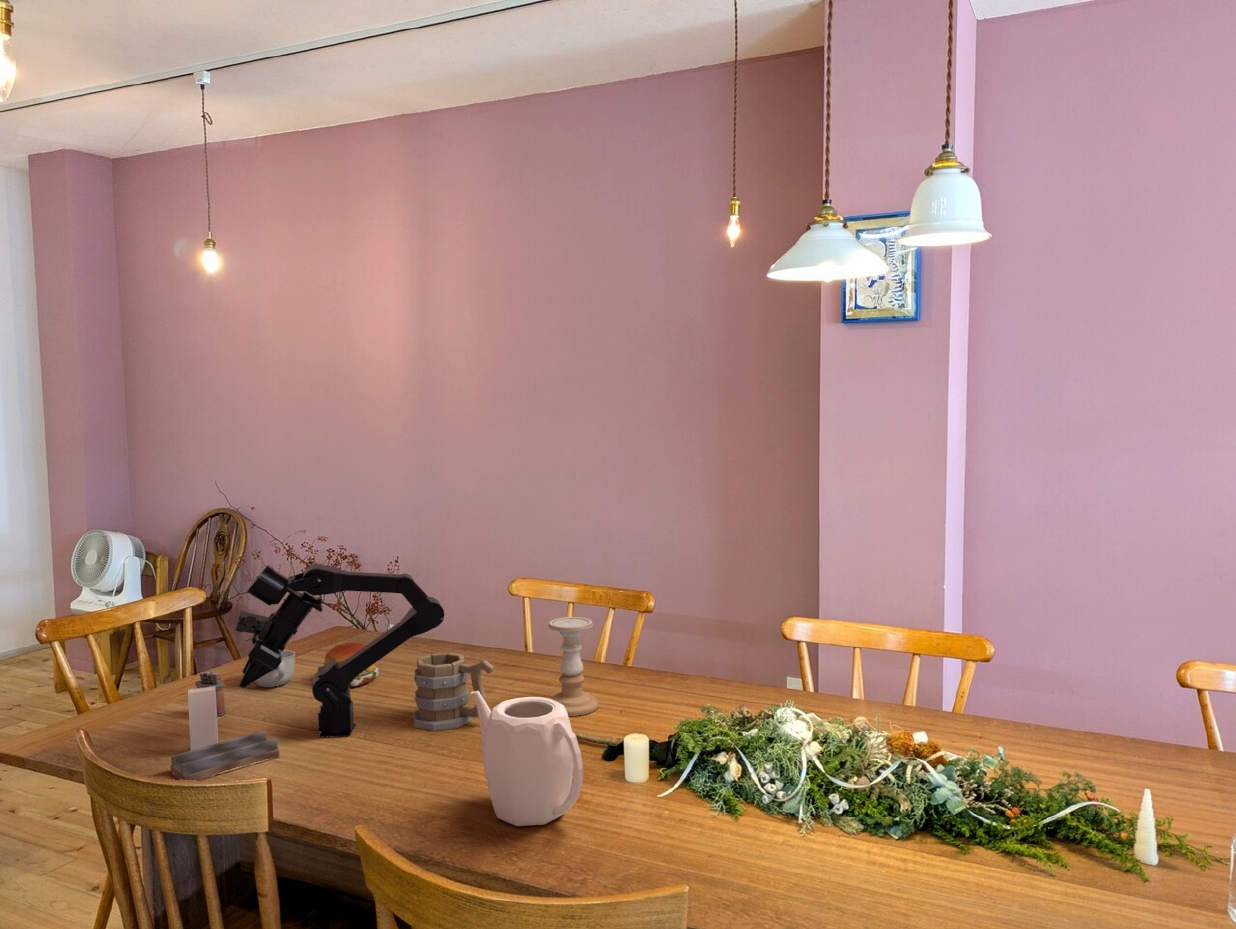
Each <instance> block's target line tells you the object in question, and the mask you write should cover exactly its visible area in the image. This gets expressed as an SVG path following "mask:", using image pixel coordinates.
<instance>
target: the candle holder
mask: <svg viewBox="0 0 1236 929" xmlns="http://www.w3.org/2000/svg"><path fill="white" fill-rule="evenodd" d="M593 626H594V621H593V620H592V619H590V618H587V617H581V616H567V617H566V616H565V617H559V618H554V619H551V620H549V621H548V624H547V627H548V629H550V630H551V631H554V632H558V633H559V635H561V636H562V638H563V642H562V644H560V646H559V649H561V650H562V656H561V661H560V663H559V671H560V672H561V673H562V674H561V675H560V676H559V677H558V682H560V684H561V691H560V692H557V693H555V694H554V695H553V696H551V697H549V699H552V700H554V701H557V702H558V703H560V704H562V705H564V707H565V709H566V711H567V713H568V717H579V715H581V716H585V714H586V715H588V714H589V715H590V714H591V713H594V712H595V711H597V710H598V708H599V705H600V704H599V701H598V699H597V697H595V696H594V695H591V694H590V693H588V692H586V691H583V687H582V683H583V682H584V681H585V677H584V675H583V674H582V673H581V672H583V670H584V664H583V661H582V657H581V654H580V652H581V651H580V650H582V648H583V645H582V644H581V643H580V642H579V638H580V636H581V635H582V633H583V632H585V631H588V630H590V629H592V628H593Z"/></svg>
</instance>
